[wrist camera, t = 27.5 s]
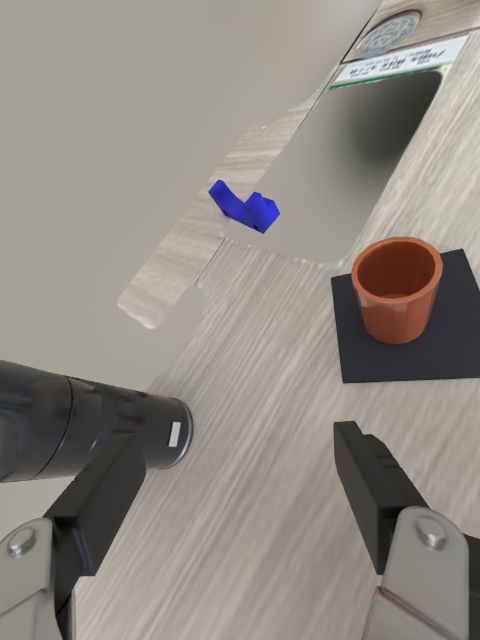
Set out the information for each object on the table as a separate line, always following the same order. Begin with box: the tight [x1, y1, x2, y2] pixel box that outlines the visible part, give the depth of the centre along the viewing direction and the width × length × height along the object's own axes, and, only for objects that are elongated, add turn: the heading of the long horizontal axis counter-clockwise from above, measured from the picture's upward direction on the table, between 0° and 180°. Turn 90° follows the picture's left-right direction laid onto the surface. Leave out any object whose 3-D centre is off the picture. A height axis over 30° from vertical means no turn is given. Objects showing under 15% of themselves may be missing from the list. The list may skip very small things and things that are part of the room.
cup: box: [351, 237, 443, 344], centre depth 25 cm, size 6×6×10 cm
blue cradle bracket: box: [208, 180, 280, 233], centre depth 46 cm, size 12×4×6 cm, turn 43°
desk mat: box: [331, 249, 480, 383], centre depth 29 cm, size 14×14×1 cm
